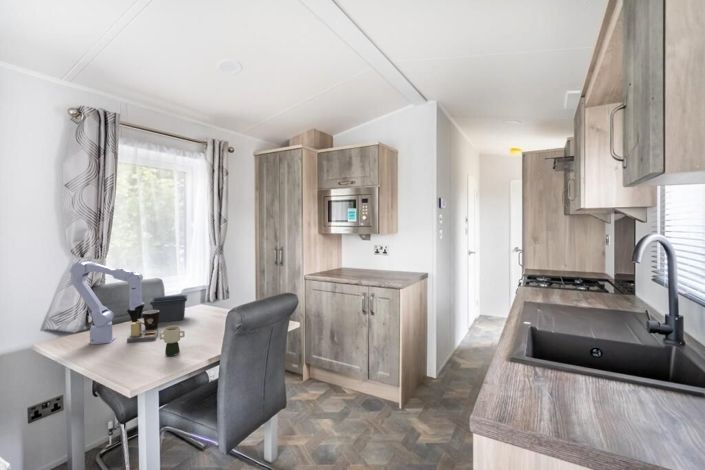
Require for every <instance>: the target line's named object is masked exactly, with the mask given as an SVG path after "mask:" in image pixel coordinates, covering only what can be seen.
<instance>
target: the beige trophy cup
mask: <svg viewBox="0 0 705 470" xmlns="http://www.w3.org/2000/svg"><path fill="white" fill-rule="evenodd" d="M185 336H186V335H185V330H181V326H178V325H171V326H167V327H164V328H163V332H159V333H158V338H159V340H161V341H162V340H163V341H164V343H166V344H165V353H164V354H165V355H166V356H169V357H172V356H173V357H174V356H176V355H178V354H180V352H181V351H180V350H181V349H180V344H179V341H180V340H181V338H185Z"/></svg>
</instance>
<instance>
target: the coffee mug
mask: <svg viewBox="0 0 705 470" xmlns="http://www.w3.org/2000/svg"><path fill="white" fill-rule="evenodd" d="M141 318H142V319H143V322H142V321H139V319H137V322H141V325H144V329H145V331H152V330H157V329H158V327H159V322H158V319H159V310H153V309H149V310H145V311H142V315H141Z"/></svg>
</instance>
